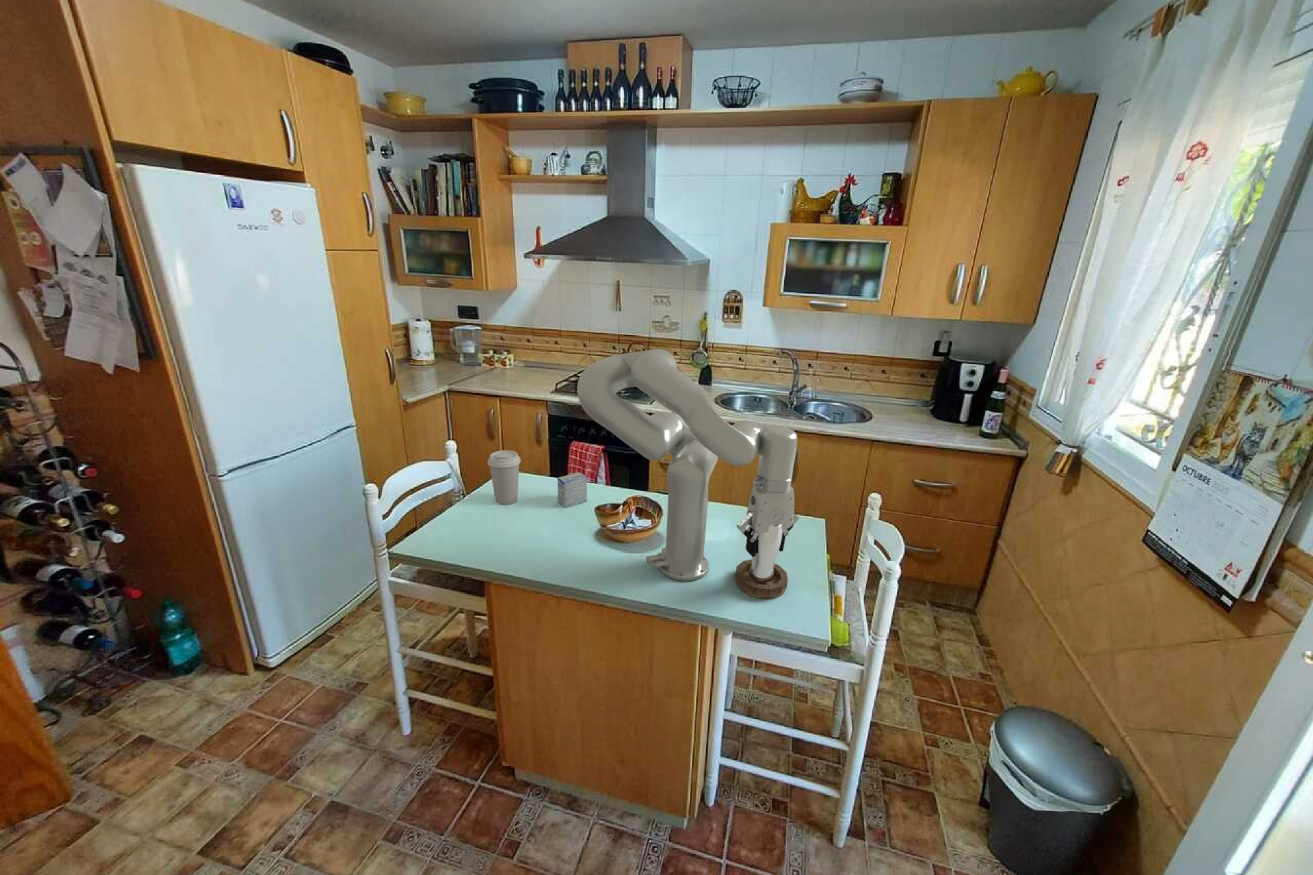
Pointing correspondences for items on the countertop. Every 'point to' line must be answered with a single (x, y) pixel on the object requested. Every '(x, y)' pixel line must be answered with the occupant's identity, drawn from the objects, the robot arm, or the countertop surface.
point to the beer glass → (766, 554)
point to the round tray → (761, 588)
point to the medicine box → (572, 489)
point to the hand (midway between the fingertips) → (764, 550)
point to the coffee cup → (505, 476)
